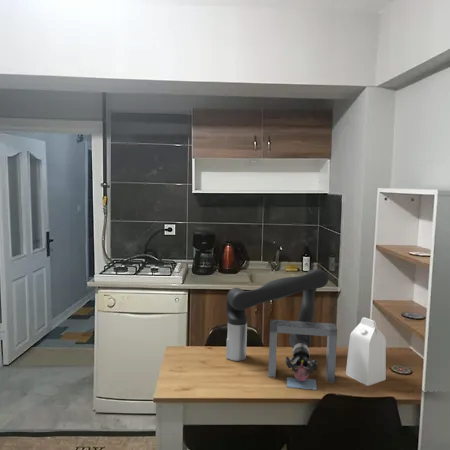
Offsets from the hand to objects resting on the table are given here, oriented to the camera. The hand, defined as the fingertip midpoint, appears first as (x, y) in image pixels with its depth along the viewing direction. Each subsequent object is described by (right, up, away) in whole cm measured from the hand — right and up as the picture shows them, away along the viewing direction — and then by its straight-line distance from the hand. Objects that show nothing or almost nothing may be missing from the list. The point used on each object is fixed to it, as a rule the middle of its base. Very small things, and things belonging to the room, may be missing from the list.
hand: (302, 371), depth 174 cm
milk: (+30, -7, +11) cm, 32 cm away
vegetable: (0, -6, +3) cm, 7 cm away
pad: (0, -7, +3) cm, 7 cm away
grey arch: (+1, -6, +11) cm, 12 cm away
